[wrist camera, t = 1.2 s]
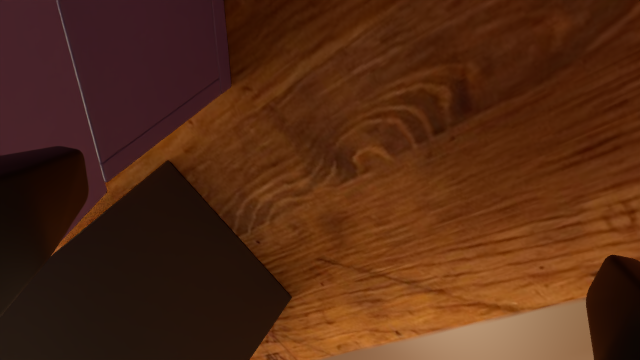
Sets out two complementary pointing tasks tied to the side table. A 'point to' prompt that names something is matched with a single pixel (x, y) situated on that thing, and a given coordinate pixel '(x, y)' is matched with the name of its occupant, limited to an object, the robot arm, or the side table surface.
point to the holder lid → (42, 90)
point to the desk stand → (146, 286)
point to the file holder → (144, 69)
